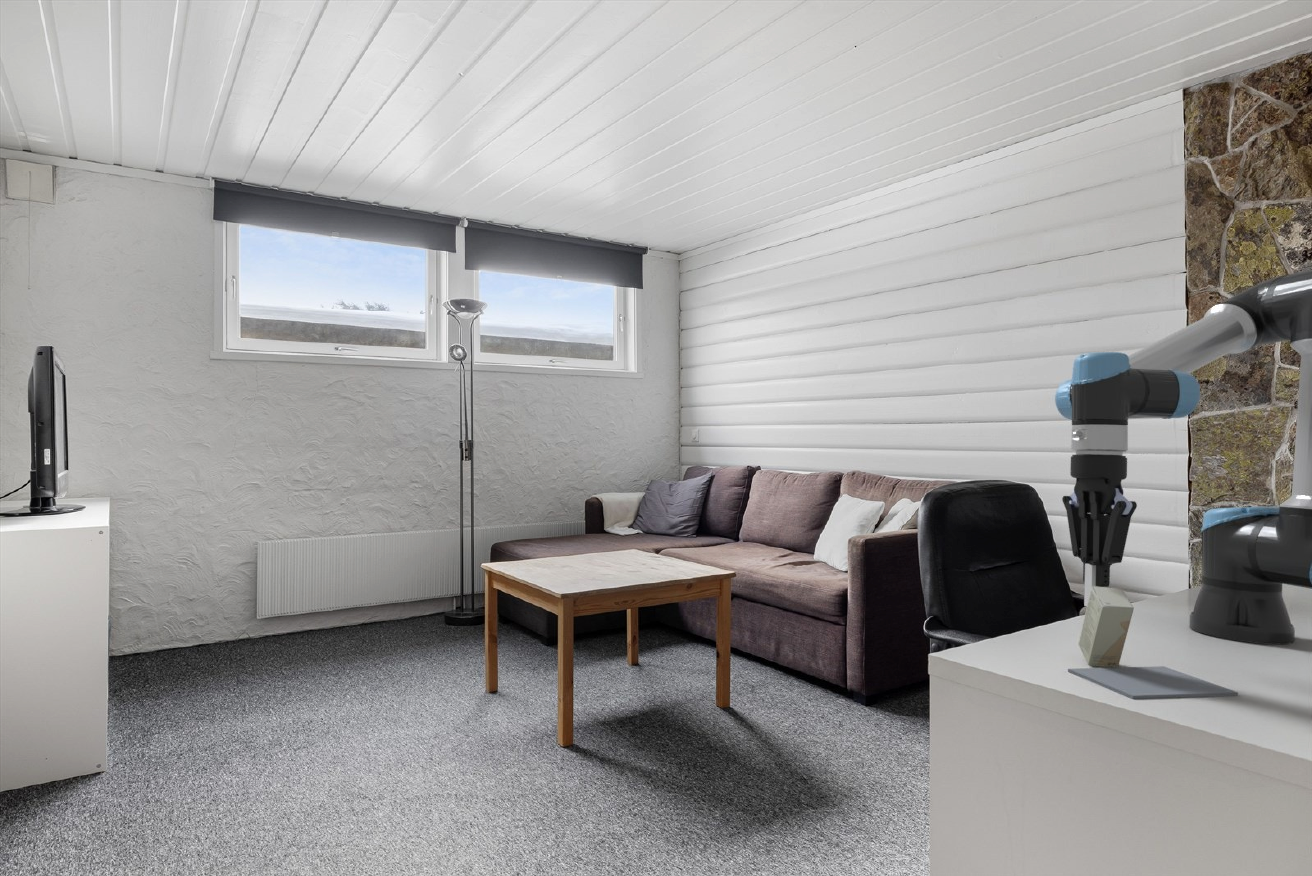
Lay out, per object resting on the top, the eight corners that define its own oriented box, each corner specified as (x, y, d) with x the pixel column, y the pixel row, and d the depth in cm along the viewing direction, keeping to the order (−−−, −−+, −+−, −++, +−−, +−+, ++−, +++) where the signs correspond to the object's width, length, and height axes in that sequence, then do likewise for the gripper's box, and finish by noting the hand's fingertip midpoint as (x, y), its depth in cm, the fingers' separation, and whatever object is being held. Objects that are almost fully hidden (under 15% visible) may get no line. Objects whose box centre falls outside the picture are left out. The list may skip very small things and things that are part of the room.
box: (1118, 668, 112) (1135, 609, 107) (1087, 666, 113) (1102, 607, 108) (1106, 644, 117) (1122, 587, 112) (1076, 642, 118) (1091, 585, 113)
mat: (1163, 669, 112) (1163, 666, 112) (1238, 695, 101) (1238, 692, 101) (1068, 671, 110) (1068, 668, 110) (1132, 698, 98) (1132, 695, 98)
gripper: (1048, 452, 122) (1045, 598, 121) (1108, 453, 109) (1105, 616, 108) (1089, 453, 123) (1086, 598, 122) (1154, 454, 110) (1151, 616, 110)
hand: (1095, 606), depth 115 cm, fingers closed
